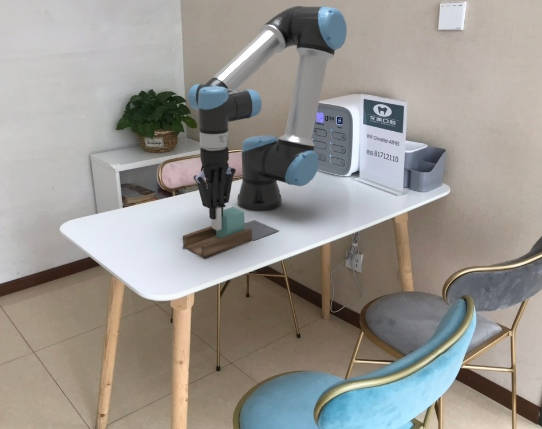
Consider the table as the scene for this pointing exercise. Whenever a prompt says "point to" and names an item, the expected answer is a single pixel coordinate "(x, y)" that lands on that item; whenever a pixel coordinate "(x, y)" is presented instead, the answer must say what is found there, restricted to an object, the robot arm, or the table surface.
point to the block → (231, 222)
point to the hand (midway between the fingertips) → (216, 228)
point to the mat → (259, 229)
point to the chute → (214, 241)
